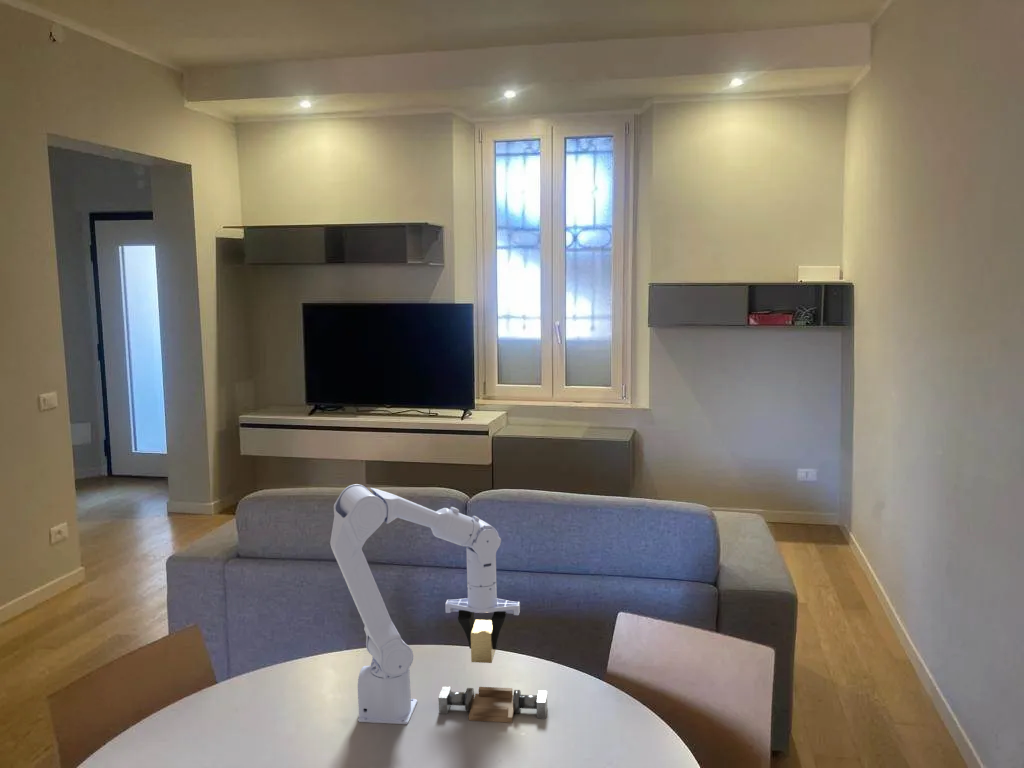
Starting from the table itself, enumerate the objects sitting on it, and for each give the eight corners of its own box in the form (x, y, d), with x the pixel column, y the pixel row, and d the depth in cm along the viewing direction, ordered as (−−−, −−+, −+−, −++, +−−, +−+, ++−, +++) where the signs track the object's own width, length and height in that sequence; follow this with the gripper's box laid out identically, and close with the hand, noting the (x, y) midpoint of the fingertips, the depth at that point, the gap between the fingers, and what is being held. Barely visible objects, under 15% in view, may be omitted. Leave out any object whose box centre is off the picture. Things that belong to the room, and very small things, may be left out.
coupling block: (491, 663, 156) (490, 633, 155) (471, 662, 156) (470, 633, 155) (496, 648, 162) (495, 620, 161) (476, 647, 162) (475, 619, 161)
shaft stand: (437, 719, 148) (436, 698, 148) (445, 697, 156) (444, 677, 155) (544, 724, 146) (544, 703, 145) (548, 701, 153) (547, 682, 153)
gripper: (521, 574, 160) (522, 638, 162) (449, 572, 161) (451, 636, 163) (516, 588, 153) (518, 655, 155) (442, 586, 155) (444, 652, 157)
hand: (483, 646), depth 159 cm, fingers closed on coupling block, 4 cm apart
